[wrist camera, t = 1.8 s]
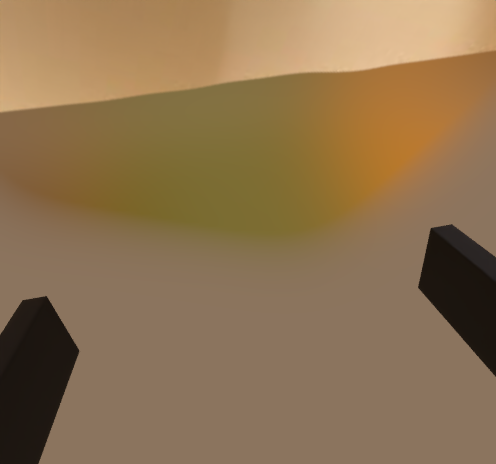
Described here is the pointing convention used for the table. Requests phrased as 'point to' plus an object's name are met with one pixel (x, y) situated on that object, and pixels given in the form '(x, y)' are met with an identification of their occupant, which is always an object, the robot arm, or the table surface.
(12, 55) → the table surface
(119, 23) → the table surface
